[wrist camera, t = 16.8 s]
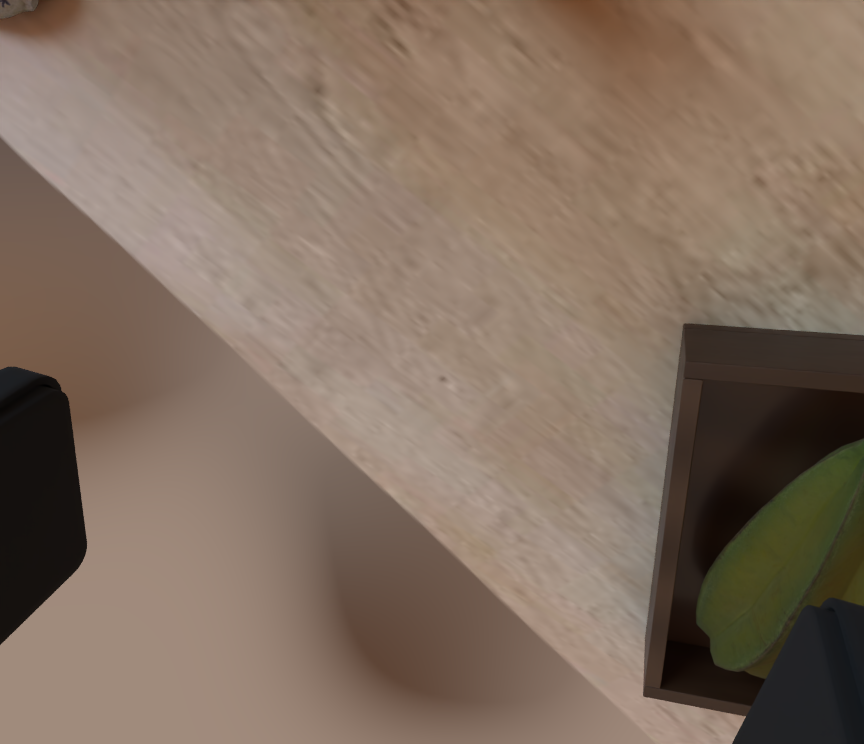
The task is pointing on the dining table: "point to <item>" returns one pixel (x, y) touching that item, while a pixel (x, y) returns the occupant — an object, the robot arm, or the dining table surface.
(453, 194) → the dining table surface
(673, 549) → the holder
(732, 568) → the fruit
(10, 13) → the fossil
